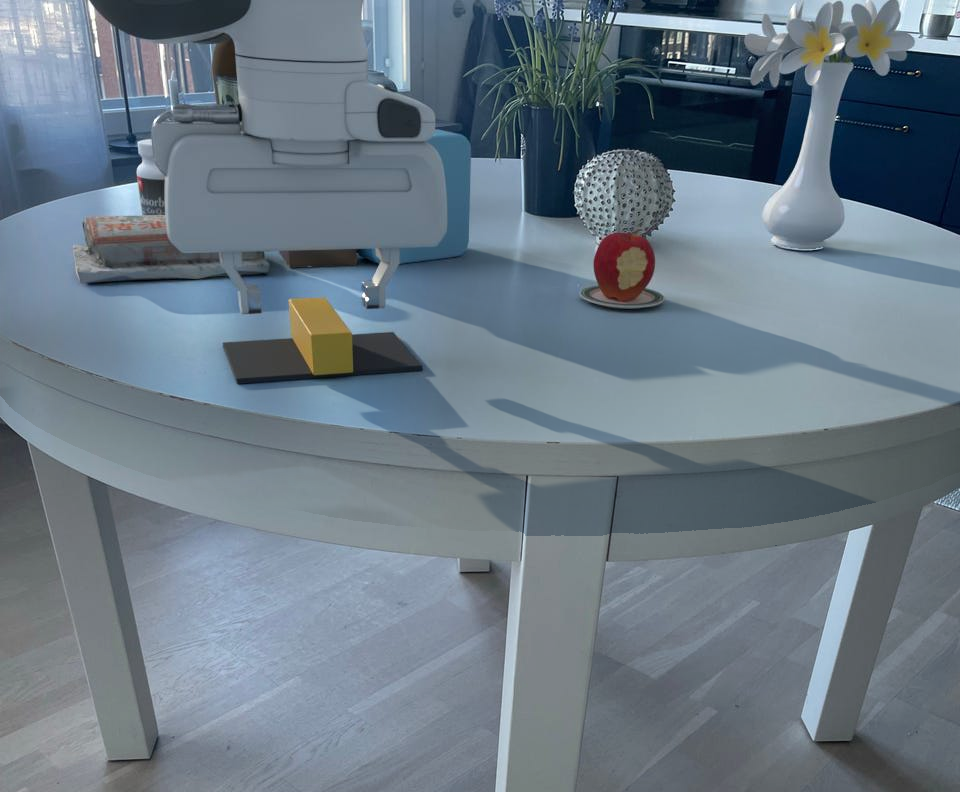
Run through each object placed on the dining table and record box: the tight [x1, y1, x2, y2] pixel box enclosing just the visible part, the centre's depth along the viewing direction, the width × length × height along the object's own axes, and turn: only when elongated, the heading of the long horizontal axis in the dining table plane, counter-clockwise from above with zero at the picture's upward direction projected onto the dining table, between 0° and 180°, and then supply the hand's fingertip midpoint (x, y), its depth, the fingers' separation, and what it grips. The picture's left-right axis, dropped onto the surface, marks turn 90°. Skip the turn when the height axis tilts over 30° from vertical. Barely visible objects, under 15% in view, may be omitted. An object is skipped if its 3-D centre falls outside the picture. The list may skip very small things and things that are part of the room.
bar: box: [288, 296, 353, 375], centre depth 78 cm, size 3×10×3 cm, turn 18°
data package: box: [357, 128, 472, 265], centre depth 106 cm, size 12×4×12 cm, turn 125°
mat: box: [222, 331, 423, 385], centre depth 79 cm, size 14×9×1 cm, turn 108°
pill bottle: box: [136, 138, 165, 216], centre depth 109 cm, size 6×6×10 cm
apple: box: [579, 228, 665, 310], centre depth 95 cm, size 8×8×6 cm
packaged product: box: [72, 214, 270, 284], centre depth 100 cm, size 18×5×10 cm
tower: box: [278, 249, 358, 269], centre depth 104 cm, size 8×8×12 cm
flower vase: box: [743, 0, 916, 249], centre depth 113 cm, size 13×18×25 cm
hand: (313, 309), depth 77 cm, fingers open, 8 cm apart
